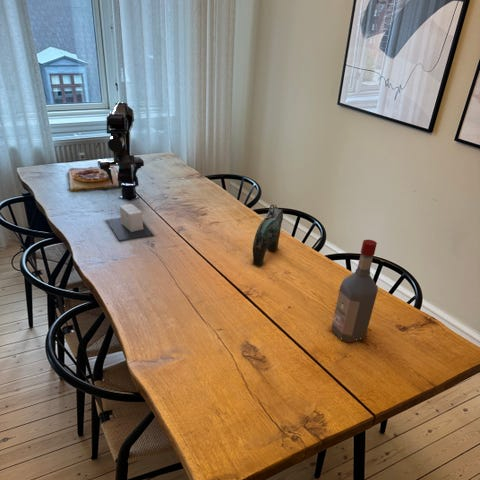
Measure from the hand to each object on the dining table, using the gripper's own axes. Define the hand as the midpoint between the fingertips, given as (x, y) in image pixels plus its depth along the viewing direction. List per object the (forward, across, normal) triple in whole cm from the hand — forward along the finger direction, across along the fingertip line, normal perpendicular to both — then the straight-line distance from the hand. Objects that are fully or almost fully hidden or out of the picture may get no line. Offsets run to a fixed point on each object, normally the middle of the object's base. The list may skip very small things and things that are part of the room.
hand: (122, 182), depth 198 cm
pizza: (+13, -4, +48) cm, 50 cm away
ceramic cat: (+13, +39, -63) cm, 75 cm away
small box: (+9, -3, -14) cm, 16 cm away
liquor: (+13, +37, -117) cm, 123 cm away
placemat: (+13, -4, -19) cm, 23 cm away
